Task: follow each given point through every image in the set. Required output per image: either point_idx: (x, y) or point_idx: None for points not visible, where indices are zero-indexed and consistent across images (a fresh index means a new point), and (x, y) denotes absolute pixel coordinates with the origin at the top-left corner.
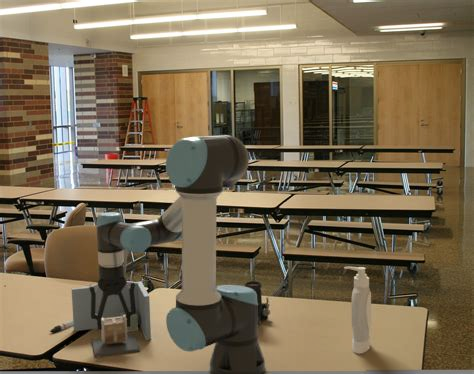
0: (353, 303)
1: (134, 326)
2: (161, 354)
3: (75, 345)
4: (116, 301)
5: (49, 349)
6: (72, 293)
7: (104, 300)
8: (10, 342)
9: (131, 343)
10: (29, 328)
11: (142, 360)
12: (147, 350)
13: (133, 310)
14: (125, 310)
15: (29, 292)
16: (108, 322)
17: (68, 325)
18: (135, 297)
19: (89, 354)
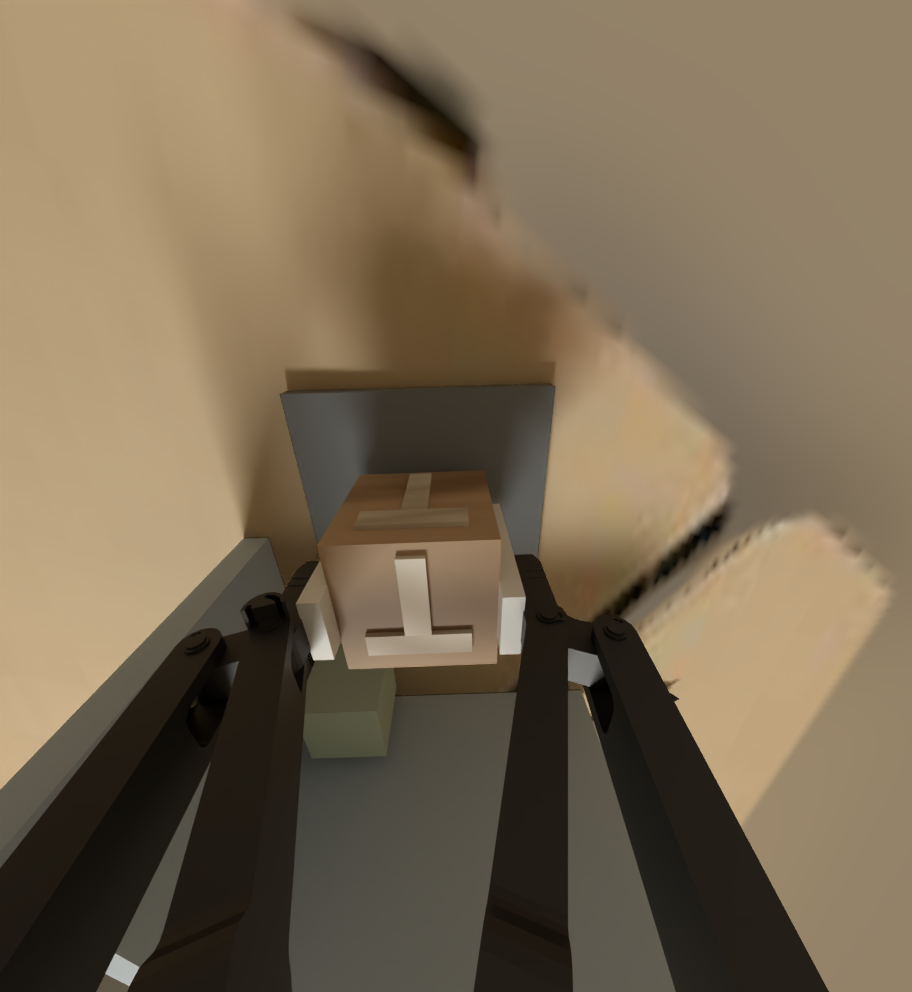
0: None
1: (330, 662)
2: (127, 290)
3: (609, 564)
4: (394, 835)
5: (730, 553)
6: None
7: (529, 869)
8: (834, 653)
9: (335, 489)
10: (719, 737)
11: (247, 213)
12: (239, 393)
13: (187, 664)
14: (270, 671)
15: None
16: (461, 583)
17: (595, 727)
18: None
19: (570, 436)
